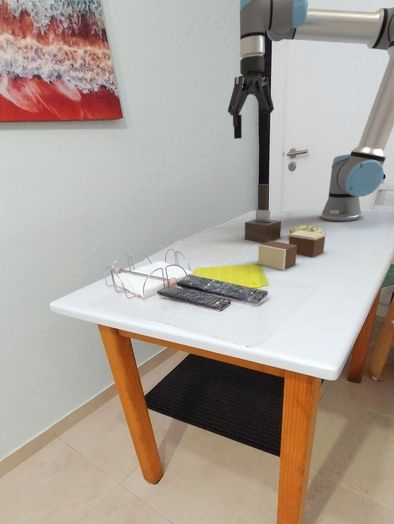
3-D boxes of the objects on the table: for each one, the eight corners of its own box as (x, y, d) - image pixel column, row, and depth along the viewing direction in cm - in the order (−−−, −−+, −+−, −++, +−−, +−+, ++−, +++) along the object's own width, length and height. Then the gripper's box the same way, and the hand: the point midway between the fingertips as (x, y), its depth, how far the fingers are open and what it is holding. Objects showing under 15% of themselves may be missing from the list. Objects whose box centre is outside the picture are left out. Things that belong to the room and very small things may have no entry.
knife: (257, 237, 125) (258, 183, 116) (270, 239, 121) (272, 184, 112) (254, 238, 124) (255, 184, 115) (266, 240, 120) (268, 185, 111)
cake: (298, 248, 110) (300, 230, 107) (323, 252, 104) (325, 233, 101) (288, 252, 107) (289, 233, 104) (312, 257, 101) (315, 237, 98)
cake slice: (271, 240, 99) (258, 244, 96) (297, 245, 93) (284, 250, 91) (270, 259, 102) (258, 264, 99) (295, 264, 96) (283, 270, 93)
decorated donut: (314, 243, 113) (316, 231, 111) (284, 240, 119) (285, 229, 117) (324, 235, 120) (326, 224, 118) (295, 233, 126) (296, 222, 124)
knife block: (259, 234, 128) (259, 218, 125) (280, 238, 122) (281, 220, 118) (244, 239, 124) (244, 222, 121) (266, 243, 117) (266, 225, 114)
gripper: (268, 61, 114) (266, 135, 126) (215, 57, 101) (218, 140, 113) (286, 57, 109) (282, 134, 121) (233, 51, 96) (234, 139, 107)
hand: (251, 137), depth 117 cm, fingers open, 13 cm apart
